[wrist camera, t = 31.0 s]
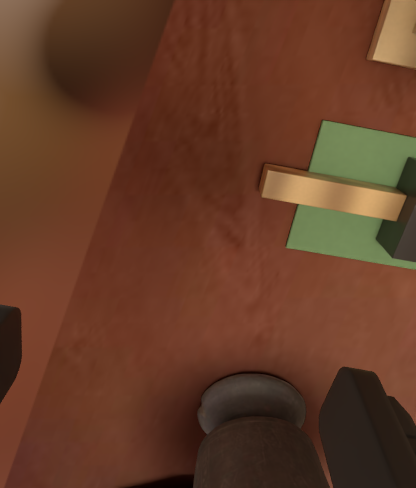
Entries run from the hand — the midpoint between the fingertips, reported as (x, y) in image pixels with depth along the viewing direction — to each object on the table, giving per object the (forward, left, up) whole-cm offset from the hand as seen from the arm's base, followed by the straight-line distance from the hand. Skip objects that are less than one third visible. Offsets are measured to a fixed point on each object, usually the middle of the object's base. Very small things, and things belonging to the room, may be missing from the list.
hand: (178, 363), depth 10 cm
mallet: (+13, -2, -27) cm, 30 cm away
